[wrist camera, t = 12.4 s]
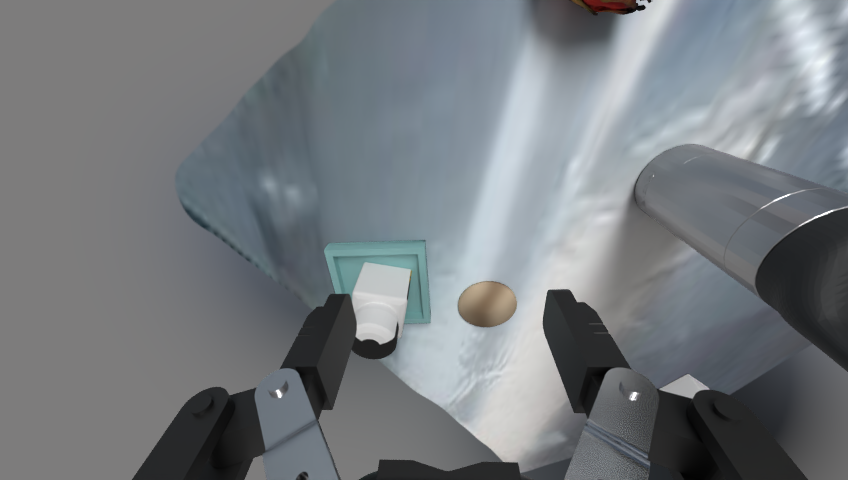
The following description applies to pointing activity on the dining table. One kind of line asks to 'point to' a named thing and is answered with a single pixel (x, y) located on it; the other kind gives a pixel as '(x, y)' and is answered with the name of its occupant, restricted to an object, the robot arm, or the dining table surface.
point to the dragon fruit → (610, 6)
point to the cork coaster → (487, 304)
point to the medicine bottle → (379, 308)
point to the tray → (403, 254)
